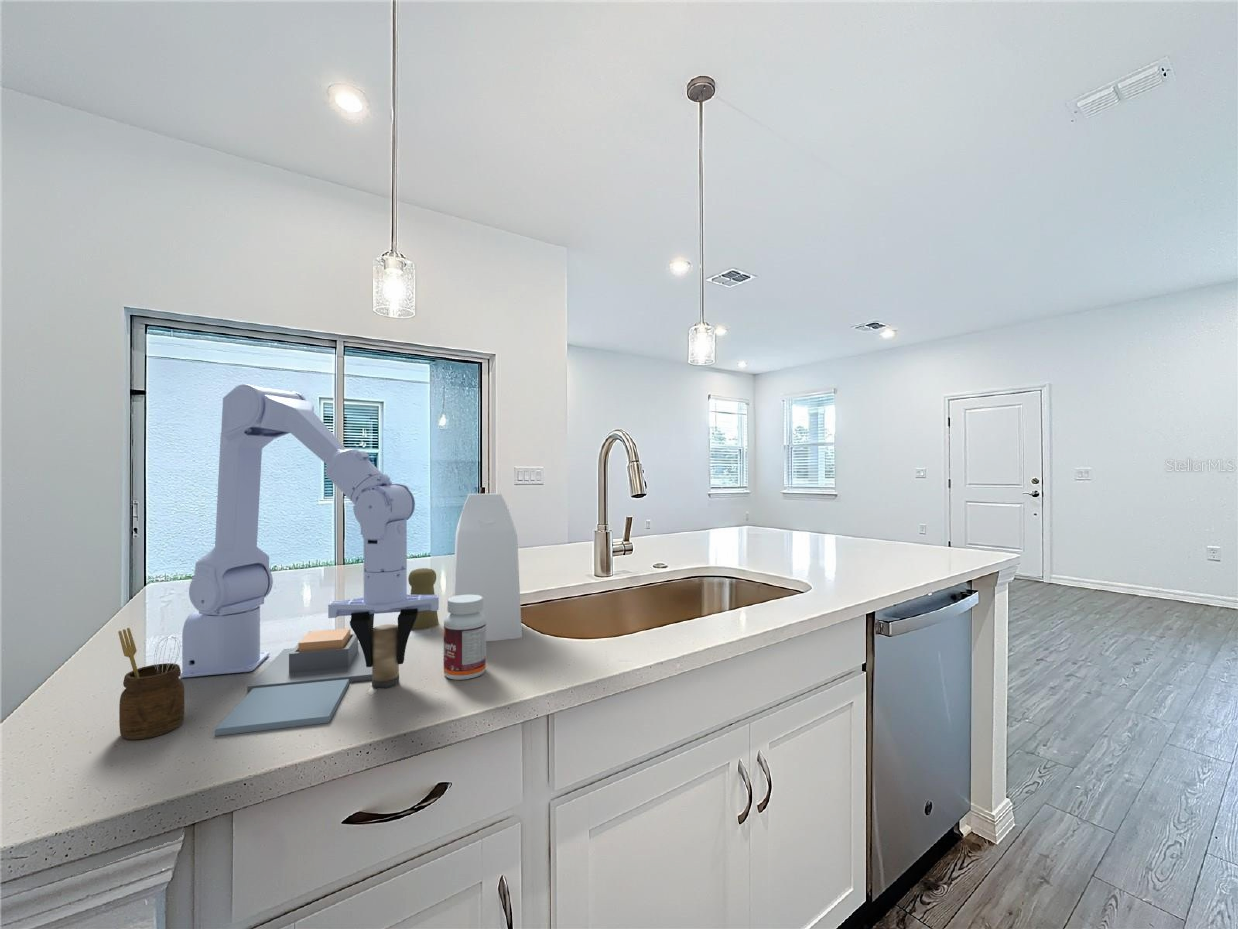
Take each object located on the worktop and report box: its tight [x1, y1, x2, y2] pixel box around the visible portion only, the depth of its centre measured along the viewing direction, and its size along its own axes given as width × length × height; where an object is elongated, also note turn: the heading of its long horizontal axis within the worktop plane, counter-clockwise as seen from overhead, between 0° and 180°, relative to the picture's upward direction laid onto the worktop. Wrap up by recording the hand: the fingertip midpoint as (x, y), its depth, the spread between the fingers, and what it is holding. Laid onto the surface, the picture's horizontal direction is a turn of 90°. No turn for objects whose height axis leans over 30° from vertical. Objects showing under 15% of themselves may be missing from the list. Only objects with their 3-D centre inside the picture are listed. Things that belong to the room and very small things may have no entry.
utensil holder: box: [117, 627, 185, 741], centre depth 66 cm, size 6×6×12 cm
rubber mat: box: [214, 679, 350, 737], centre depth 71 cm, size 12×12×1 cm
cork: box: [407, 567, 440, 631], centre depth 108 cm, size 6×6×11 cm
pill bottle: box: [443, 595, 487, 681], centre depth 83 cm, size 6×6×11 cm
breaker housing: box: [247, 633, 372, 693], centre depth 86 cm, size 16×16×4 cm
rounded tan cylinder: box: [371, 623, 400, 689], centre depth 79 cm, size 4×4×8 cm
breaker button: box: [297, 627, 351, 652], centre depth 86 cm, size 6×6×2 cm
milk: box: [452, 492, 523, 642], centre depth 104 cm, size 12×12×26 cm
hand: (385, 663), depth 79 cm, fingers closed on rounded tan cylinder, 3 cm apart
